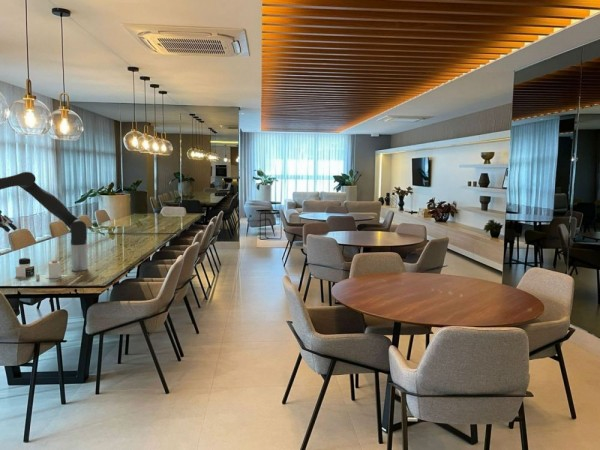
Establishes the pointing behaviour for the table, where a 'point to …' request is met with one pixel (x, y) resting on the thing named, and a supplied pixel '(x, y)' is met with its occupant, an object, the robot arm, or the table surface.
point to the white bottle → (54, 269)
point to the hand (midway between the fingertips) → (12, 230)
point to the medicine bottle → (24, 268)
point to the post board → (45, 278)
